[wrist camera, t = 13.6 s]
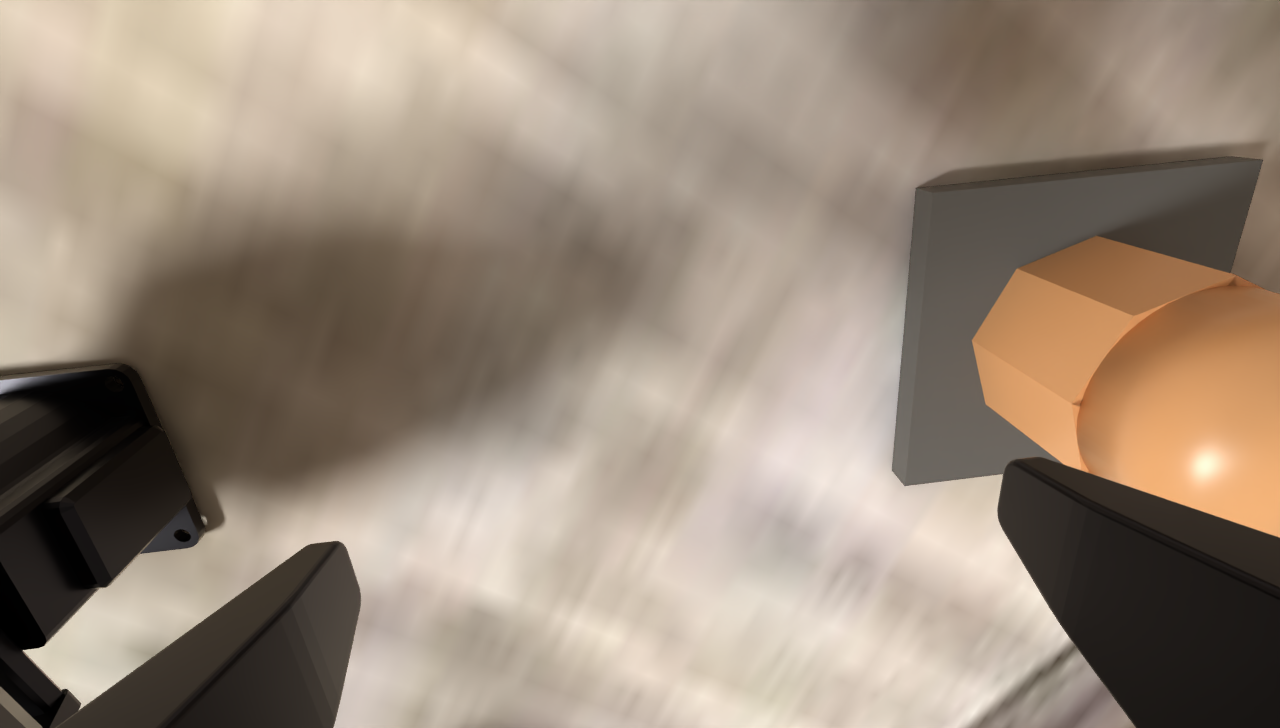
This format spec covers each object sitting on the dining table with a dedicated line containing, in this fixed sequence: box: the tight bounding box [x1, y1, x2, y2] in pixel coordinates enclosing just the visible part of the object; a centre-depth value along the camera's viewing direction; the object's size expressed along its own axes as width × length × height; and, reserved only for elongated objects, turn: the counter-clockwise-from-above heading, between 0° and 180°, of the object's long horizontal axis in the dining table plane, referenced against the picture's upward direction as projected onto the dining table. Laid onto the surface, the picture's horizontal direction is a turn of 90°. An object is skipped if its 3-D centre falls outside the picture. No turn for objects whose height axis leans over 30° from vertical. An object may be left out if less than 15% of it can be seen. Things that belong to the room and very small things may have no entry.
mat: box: [892, 157, 1263, 486], centre depth 21 cm, size 10×10×1 cm
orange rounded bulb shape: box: [972, 236, 1280, 537], centre depth 17 cm, size 6×6×8 cm
